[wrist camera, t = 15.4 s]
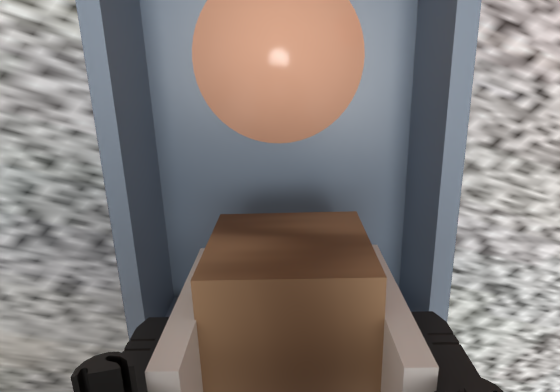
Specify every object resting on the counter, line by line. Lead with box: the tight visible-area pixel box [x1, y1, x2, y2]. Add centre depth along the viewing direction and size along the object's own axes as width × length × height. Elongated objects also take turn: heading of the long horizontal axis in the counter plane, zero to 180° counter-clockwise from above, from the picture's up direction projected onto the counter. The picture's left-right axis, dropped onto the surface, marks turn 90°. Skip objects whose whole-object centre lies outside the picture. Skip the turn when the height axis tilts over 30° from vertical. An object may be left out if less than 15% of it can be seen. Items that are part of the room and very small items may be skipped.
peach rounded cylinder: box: [192, 0, 365, 143], centre depth 16 cm, size 5×5×7 cm
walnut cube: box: [190, 211, 387, 392], centre depth 14 cm, size 5×5×5 cm
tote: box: [76, 0, 481, 341], centre depth 18 cm, size 14×18×5 cm
